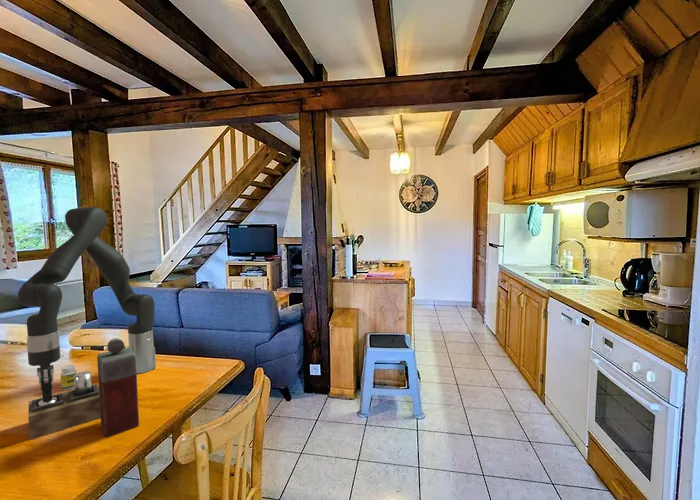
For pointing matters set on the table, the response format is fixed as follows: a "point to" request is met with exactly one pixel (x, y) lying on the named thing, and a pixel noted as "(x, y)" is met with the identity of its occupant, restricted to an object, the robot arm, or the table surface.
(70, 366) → the supplement bottle
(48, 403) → the peg
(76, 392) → the peg
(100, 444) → the table surface
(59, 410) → the brown wooden block
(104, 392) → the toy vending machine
